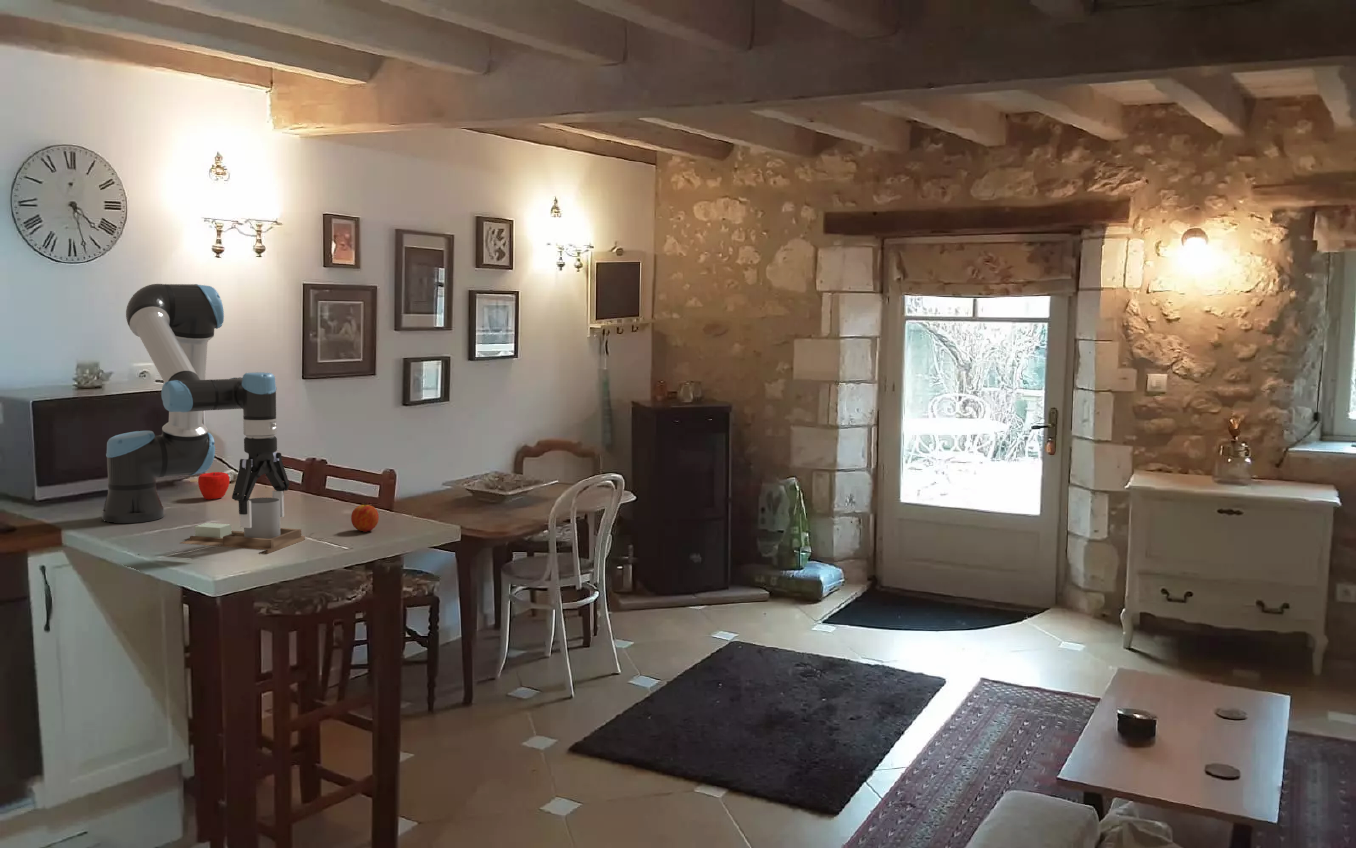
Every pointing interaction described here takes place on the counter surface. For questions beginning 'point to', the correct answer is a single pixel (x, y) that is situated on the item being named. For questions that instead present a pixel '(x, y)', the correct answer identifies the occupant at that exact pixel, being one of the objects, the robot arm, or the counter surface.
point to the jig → (251, 540)
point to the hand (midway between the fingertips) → (262, 522)
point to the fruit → (364, 517)
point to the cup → (264, 518)
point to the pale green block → (213, 530)
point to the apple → (213, 484)
